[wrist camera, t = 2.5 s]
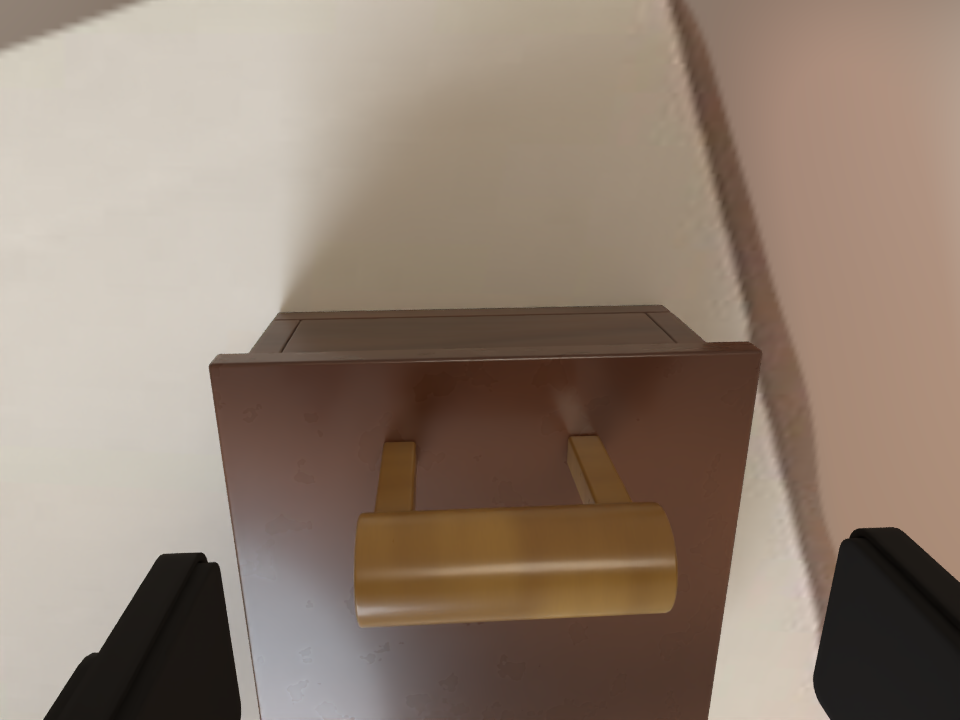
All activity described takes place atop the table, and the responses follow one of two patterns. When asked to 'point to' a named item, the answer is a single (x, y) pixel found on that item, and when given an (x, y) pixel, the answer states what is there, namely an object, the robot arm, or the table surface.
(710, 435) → the cover
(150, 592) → the robot arm
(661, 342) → the wooden chest
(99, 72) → the table surface
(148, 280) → the table surface
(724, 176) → the table surface
